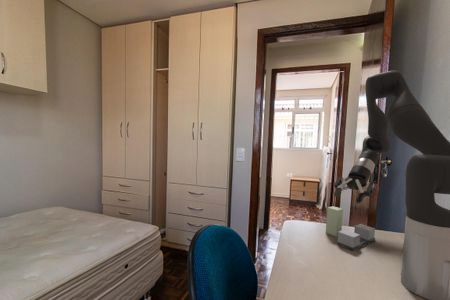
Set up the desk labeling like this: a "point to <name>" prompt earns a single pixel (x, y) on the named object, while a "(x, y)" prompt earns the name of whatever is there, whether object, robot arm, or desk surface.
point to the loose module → (334, 220)
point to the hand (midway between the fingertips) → (346, 199)
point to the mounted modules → (356, 235)
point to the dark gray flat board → (361, 244)
